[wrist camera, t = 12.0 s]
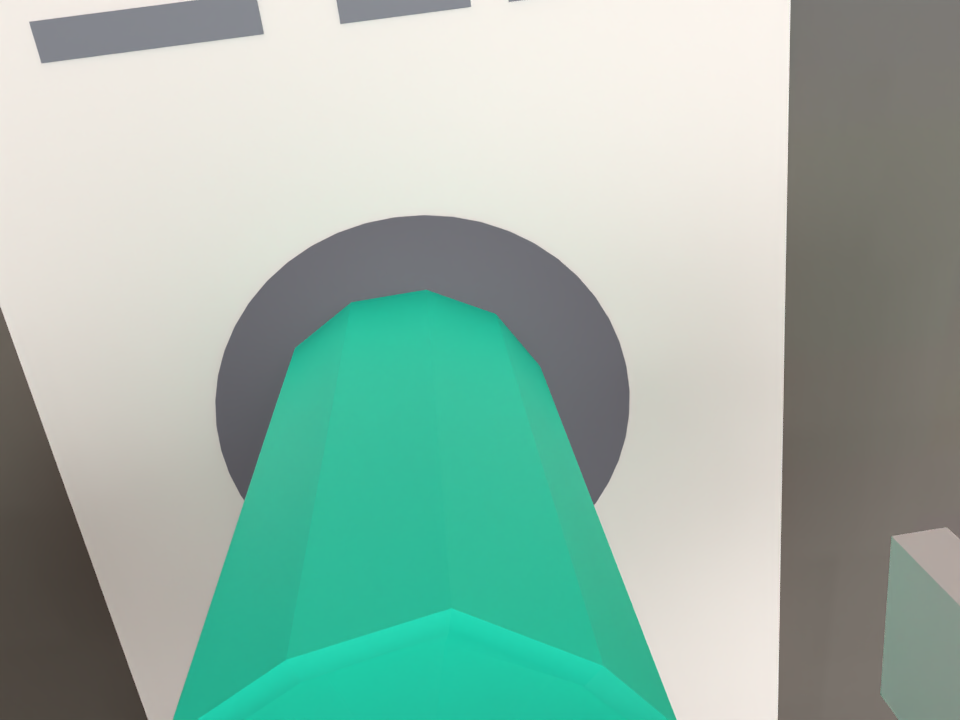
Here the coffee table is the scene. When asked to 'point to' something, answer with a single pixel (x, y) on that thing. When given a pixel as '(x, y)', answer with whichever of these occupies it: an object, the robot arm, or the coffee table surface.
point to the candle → (419, 542)
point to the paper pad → (408, 271)
